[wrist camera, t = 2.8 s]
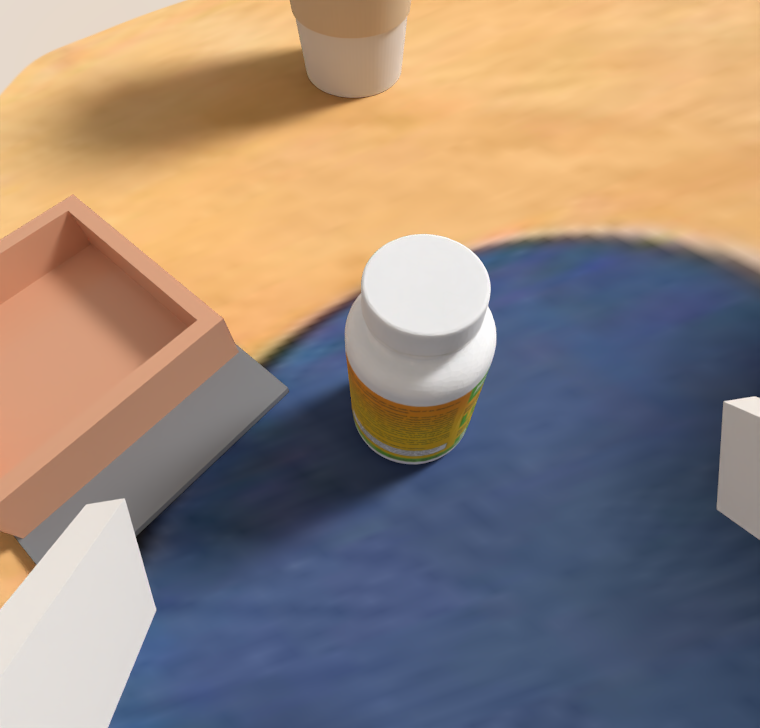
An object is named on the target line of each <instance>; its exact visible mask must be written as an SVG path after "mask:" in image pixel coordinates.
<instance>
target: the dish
mask: <svg viewBox="0 0 760 728" xmlns="http://www.w3.org/2000/svg"><path fill="white" fill-rule="evenodd" d="M238 352H239V351H238V349H237V347H236V345H235V342H234V340H233V338H232V336H231V334H230V332H229V330H228V327H227V325H226V323H225V321H224V319H223V318H222V317H221V316H220V315H218V314H217V313H216V312H215V311H214V310H212V309H211V308H210V307H209V306H208V305H206V304H205V303H204V302H203V301H201V300H200V299H199V298H198V297H197V296H195V295H194V294H193V293H192V292H191V291H189V290H188V289H187V288H186V287H185V286H183V285H182V284H181V283H180V282H178V281H177V280H176V279H175V278H174V277H172V276H171V275H170V274H169V273H168V272H166V271H165V270H164V269H163V268H161V267H160V266H159V265H158V264H157V263H155V262H154V261H153V260H152V259H151V258H149V257H148V256H147V255H146V254H145V253H143V252H142V251H141V250H140V249H138V248H137V247H136V246H135V245H134V244H132V243H131V242H130V241H129V240H128V239H126V238H125V237H124V236H123V235H122V234H120V233H119V232H118V231H117V230H115V229H114V228H113V227H112V226H111V225H109V224H108V223H107V222H106V221H105V220H103V219H102V218H101V217H100V216H98V215H97V214H96V213H95V212H94V211H92V210H91V209H90V208H89V207H88V206H86V205H85V204H84V203H83V202H82V201H80V200H79V199H78V198H77V197H75V196H74V195H71V196H70V197H68V198H66V199H65V200H63V201H62V202H60V203H58V204H57V205H55V206H53V207H52V208H50V209H49V210H47V211H45V212H44V213H42V214H41V215H39V216H37V217H36V218H34V219H33V220H31V221H29V222H28V223H26V224H25V225H23V226H21V227H20V228H18V229H17V230H15V231H13V232H12V233H10V234H9V235H7V236H5V237H4V238H2V239H1V240H0V531H2V532H5V533H8V534H11V535H14V536H17V537H20V538H25V537H26V536H27V535H28V534H29V533H30V532H32V531H33V530H34V529H35V528H36V527H37V526H38V525H40V524H41V523H42V522H43V521H44V520H45V519H47V518H48V517H49V516H50V515H51V514H52V513H54V512H55V511H56V510H57V509H58V508H59V507H60V506H62V505H63V504H64V503H65V502H66V501H67V500H69V499H70V498H71V497H72V496H73V495H74V494H75V493H77V492H78V491H79V490H80V489H81V488H82V487H84V486H85V485H86V484H87V483H88V482H89V481H91V480H92V479H93V478H94V477H95V476H96V475H97V474H99V473H100V472H101V471H102V470H103V469H104V468H106V467H107V466H108V465H109V464H110V463H111V462H112V461H114V460H115V459H116V458H117V457H118V456H119V455H121V454H122V453H123V452H124V451H125V450H126V449H127V448H129V447H130V446H131V445H132V444H133V443H134V442H136V441H137V440H138V439H139V438H140V437H141V436H143V435H144V434H145V433H146V432H147V431H148V430H149V429H151V428H152V427H153V426H154V425H155V424H156V423H158V422H159V421H160V420H161V419H162V418H163V417H164V416H166V415H167V414H168V413H169V412H170V411H171V410H173V409H174V408H175V407H176V406H177V405H178V404H180V403H181V402H182V401H183V400H184V399H185V398H186V397H188V396H189V395H190V394H191V393H192V392H193V391H195V390H196V389H197V388H198V387H199V386H200V385H201V384H203V383H204V382H205V381H206V380H207V379H208V378H210V377H211V376H212V375H213V374H214V373H215V372H217V371H218V370H219V369H220V368H221V367H222V366H223V365H225V364H226V363H227V362H228V361H229V360H230V359H232V358H233V357H234V356H235V355H236V354H237V353H238Z"/></svg>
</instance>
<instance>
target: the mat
mask: <svg viewBox="0 0 760 728" xmlns="http://www.w3.org/2000/svg"><path fill="white" fill-rule="evenodd" d="M235 345H236V344H235ZM236 347H237V349H238V351H239V352H238V353H237V354H236V355H235V356H234V357H233V358H232V359H230V360H229V361H228V362H227V363H226V364H225V365H223V366H222V367H221V368H220V369H219V370H218V371H217V372H215V373H214V374H213V375H212V376H211V377H210V378H208V379H207V380H206V381H205V382H204V383H203V384H201V385H200V386H199V387H198V388H197V389H196V390H195V391H193V392H192V393H191V394H190V395H189V396H188V397H186V398H185V399H184V400H183V401H182V402H181V403H180V404H178V405H177V406H176V407H175V408H174V409H173V410H171V411H170V412H169V413H168V414H167V415H166V416H164V417H163V418H162V419H161V420H160V421H159V422H158V423H156V424H155V425H154V426H153V427H152V428H151V429H149V430H148V431H147V432H146V433H145V434H144V435H143V436H141V437H140V438H139V439H138V440H137V441H136V442H134V443H133V444H132V445H131V446H130V447H129V448H127V449H126V450H125V451H124V452H123V453H122V454H121V455H119V456H118V457H117V458H116V459H115V460H114V461H112V462H111V463H110V464H109V465H108V466H107V467H106V468H104V469H103V470H102V471H101V472H100V473H99V474H97V475H96V476H95V477H94V478H93V479H92V480H91V481H89V482H88V483H87V484H86V485H85V486H84V487H82V488H81V489H80V490H79V491H78V492H77V493H75V494H74V495H73V496H72V497H71V498H70V499H69V500H67V501H66V502H65V503H64V504H63V505H62V506H60V507H59V508H58V509H57V510H56V511H55V512H54V513H52V514H51V515H50V516H49V517H48V518H47V519H45V520H44V521H43V522H42V523H41V524H40V525H38V526H37V527H36V528H35V529H34V530H33V531H32V532H30V533H29V534H28V535H27V536H26V537H25V538H20V537H17V536H14V535H13V536H14V537H15V538H16V539H17V541H18V542H19V543H20V545H21V546H22V547H23V548H24V550H25V551H26V552H27V553H28V555H29V556H30V557H31V559H32V560H33V561H34V562H35V564H36V565H37V564H38V563H39V561H40V560H41V559H42V558H43V557H44V555H45V554H46V553H47V552H48V550H49V549H50V548H51V547H52V546H53V544H54V543H55V542H56V541H57V539H58V538H59V537H60V536H61V535H62V533H63V532H64V531H65V530H66V528H67V527H68V526H69V525H70V524H71V522H72V521H73V520H74V519H75V517H76V516H77V515H78V514H79V513H80V511H81V510H82V509H83V508H84V506H85V505H86V504H92V503H98V502H104V501H110V500H117V499H123V498H125V501H126V504H127V508H128V511H129V515H130V518H131V522H132V526H133V529H134V533H135V536H137V535H138V534H139V533H140V532H141V531H142V530H143V529H145V528H146V527H147V526H148V525H149V524H150V523H151V522H152V521H153V520H154V519H155V518H156V517H157V516H158V515H159V514H160V513H161V512H162V511H164V510H165V509H166V508H167V507H168V506H169V505H170V504H171V503H172V502H173V501H174V500H175V499H176V498H177V497H178V496H179V495H180V494H182V493H183V492H184V491H185V490H186V489H187V488H188V487H189V486H190V485H191V484H192V483H193V482H194V481H195V480H196V479H197V478H198V477H199V476H201V475H202V474H203V473H204V472H205V471H206V470H207V469H208V468H209V467H210V466H211V465H212V464H213V463H214V462H215V461H216V460H217V459H219V458H220V457H221V456H222V455H223V454H224V453H225V452H226V451H227V450H228V449H229V448H230V447H231V446H232V445H233V444H234V443H235V442H237V441H238V440H239V439H240V438H241V437H242V436H243V435H244V434H245V433H246V432H247V431H248V430H249V429H250V428H251V427H252V426H253V425H254V424H256V423H257V422H258V421H259V420H260V419H261V418H262V417H263V416H264V415H265V414H266V413H267V412H268V411H269V410H270V409H271V408H272V407H274V406H275V405H276V404H277V403H278V402H279V401H280V400H281V399H282V398H283V397H284V396H285V395H286V394H287V393H288V392H289V389H288V388H287V387H286V386H285V385H284V384H283V383H282V382H280V381H279V380H278V379H277V378H276V377H274V376H273V375H272V374H271V373H270V372H268V371H267V370H266V369H265V368H264V367H262V366H261V365H260V364H259V363H258V362H257V361H255V360H254V359H253V358H252V357H251V356H249V355H248V354H247V353H246V352H245V351H243V350H242V349H241V348H240V347H239V346H237V345H236Z"/></svg>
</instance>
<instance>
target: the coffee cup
mask: <svg viewBox="0 0 760 728" xmlns="http://www.w3.org/2000/svg"><path fill="white" fill-rule="evenodd" d="M290 4H291V8H292V12H293V14H294V16H295V18H296V23H297V27H298V32H299V37H300V42H301V47H302V52H303V57H304V61H305V66H306V71H307V75H308V77H309V79H310V81H311V82H312V83H313V84H314V85H315V86H316V87H318V88H319V89H321V90H322V91H324V92H326V93H329V94H332V95H335V96H340V97H347V98H360V97H368V96H372V95H376V94H379V93H381V92H383V91H385V90H387V89H389V88H390V87H392V86H393V85H394V84H395V83H396V82H397V80H398V79H399V77H400V74H401V68H402V59H403V50H404V41H405V32H406V23H407V16H408V14H409V11H410V5H411V0H290Z"/></svg>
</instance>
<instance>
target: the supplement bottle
mask: <svg viewBox="0 0 760 728" xmlns="http://www.w3.org/2000/svg"><path fill="white" fill-rule="evenodd" d="M490 287H491V286H490V280H489V276H488V273H487V270H486V269H485V267H484V265H483V263H482V262H481V260H480V259H479V258H478V257H477V256H476V255H475V254H474V253H473V252H472V251H471V250H470V249H468V248H467V247H465V246H464V245H462V244H460V243H458V242H456V241H454V240H452V239H449V238H446V237H443V236H437V235H430V234H417V235H409V236H405V237H401V238H398V239H396V240H393V241H391V242H389V243H387V244H385V245H384V246H382V247H381V248H380V249H379V250H377V251H376V252H375V253H374V254H373V255H372V257H371V258H370V259H369V261H368V263H367V264H366V266H365V269H364V272H363V275H362V280H361V294H360V295H359V296H358V298H357V299H356V300H355V302H354V304H353V305H352V307H351V310H350V312H349V315H348V317H347V321H346V326H345V349H346V358H347V366H348V375H349V384H350V394H351V403H352V411H353V417H354V421H355V425H356V427H357V430H358V432H359V434H360V435H361V437H362V439H363V440H364V441H365V443H366V444H367V445H368V446H369V447H370V448H371V449H372V450H373V451H375V452H376V453H377V454H379V455H380V456H382V457H384V458H386V459H388V460H391V461H394V462H398V463H403V464H423V463H427V462H431V461H434V460H436V459H439V458H441V457H443V456H444V455H446V454H447V453H449V452H450V451H451V450H452V449H453V448H455V446H456V445H457V444H458V443H459V442H460V440H461V439H462V437H463V435H464V433H465V431H466V429H467V427H468V424H469V422H470V419H471V416H472V413H473V411H474V408H475V405H476V402H477V399H478V397H479V394H480V391H481V389H482V386H483V383H484V381H485V378H486V375H487V373H488V370H489V368H490V365H491V363H492V359H493V356H494V352H495V347H496V328H495V323H494V320H493V316H492V314H491V311H490V309H489V307H488V303H489V299H490Z"/></svg>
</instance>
